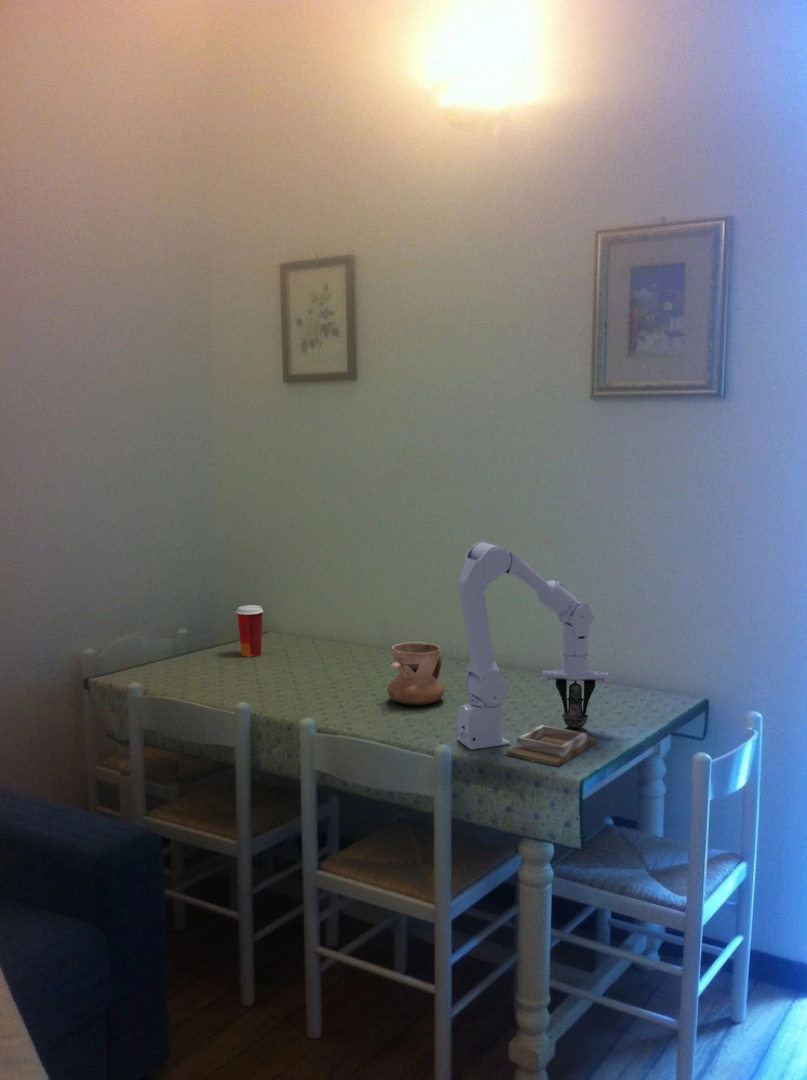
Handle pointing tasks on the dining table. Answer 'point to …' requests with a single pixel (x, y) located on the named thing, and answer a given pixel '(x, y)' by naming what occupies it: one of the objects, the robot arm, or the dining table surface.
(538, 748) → the board
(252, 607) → the coffee cup
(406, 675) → the ceramic jug
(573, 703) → the salt shaker
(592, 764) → the dining table surface
